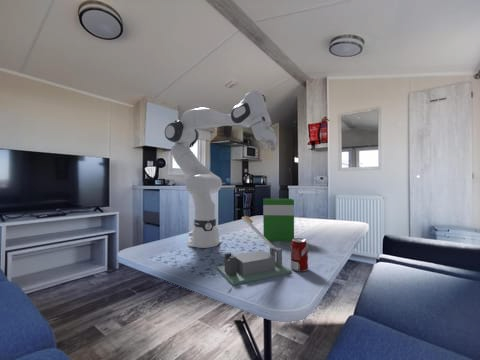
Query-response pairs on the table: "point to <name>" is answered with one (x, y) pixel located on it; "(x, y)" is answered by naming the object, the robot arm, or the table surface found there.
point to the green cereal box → (278, 219)
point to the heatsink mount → (253, 266)
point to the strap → (258, 232)
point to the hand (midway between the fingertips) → (270, 149)
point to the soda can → (299, 254)
